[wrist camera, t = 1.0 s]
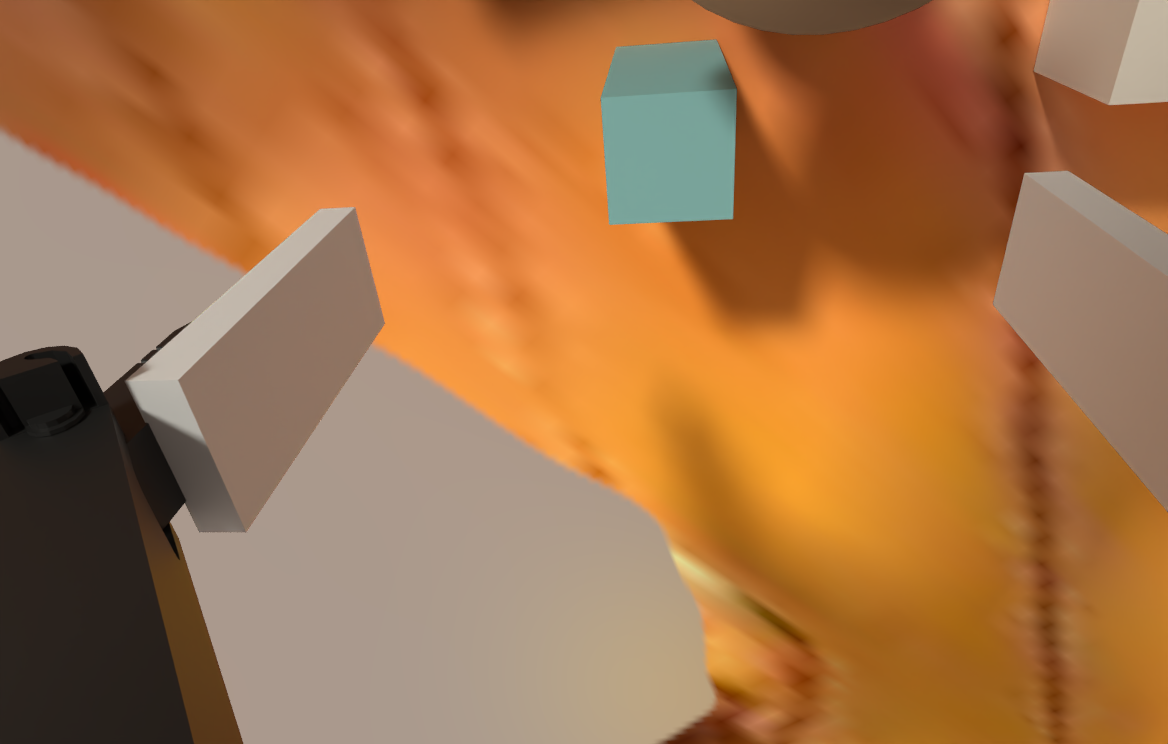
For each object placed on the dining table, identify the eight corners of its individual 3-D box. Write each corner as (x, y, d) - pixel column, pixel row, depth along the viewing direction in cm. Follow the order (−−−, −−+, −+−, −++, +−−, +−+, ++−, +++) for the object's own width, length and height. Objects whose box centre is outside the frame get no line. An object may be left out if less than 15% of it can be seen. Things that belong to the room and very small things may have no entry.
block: (616, 47, 26) (600, 97, 19) (716, 39, 25) (736, 88, 19) (621, 146, 28) (609, 224, 21) (715, 141, 27) (733, 219, 21)
